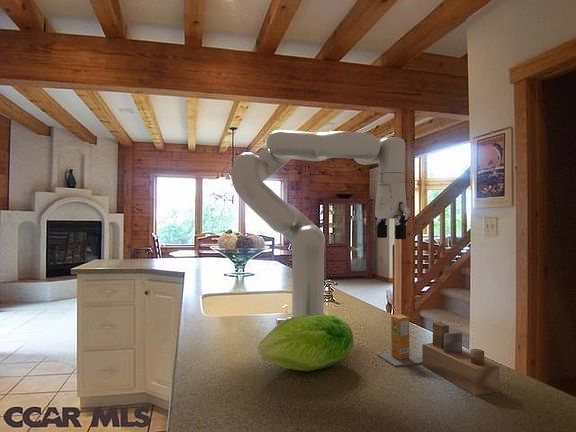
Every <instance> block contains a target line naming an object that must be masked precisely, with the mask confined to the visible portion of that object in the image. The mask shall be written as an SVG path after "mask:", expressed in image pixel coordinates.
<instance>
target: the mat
mask: <svg viewBox="0 0 576 432" xmlns="http://www.w3.org/2000/svg"><path fill="white" fill-rule="evenodd" d="M376 356H377V357H378V358H380V359H382V360H383V361H385V362H387V363H388V364H390V365H391V366H393V367H395V368H399V367H405V366H407V367H408V366H415V365H416V366H417V365H422V359H420V358H419V357H416V356H415V355H413V354H411V353H410V358H408V359H404V360H398V359H396V358H394V357H392V356H391V352H382V353H381V352H380V353H376Z"/></svg>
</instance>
